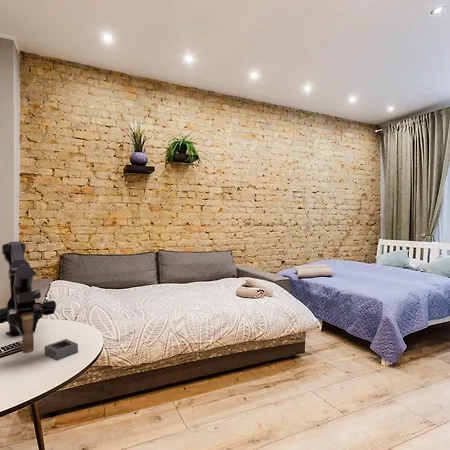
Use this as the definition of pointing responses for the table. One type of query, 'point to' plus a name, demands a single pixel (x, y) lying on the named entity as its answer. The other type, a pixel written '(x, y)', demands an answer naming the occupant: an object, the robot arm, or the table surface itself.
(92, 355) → the table surface
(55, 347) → the socket block
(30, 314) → the pin
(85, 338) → the table surface
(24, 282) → the robot arm
